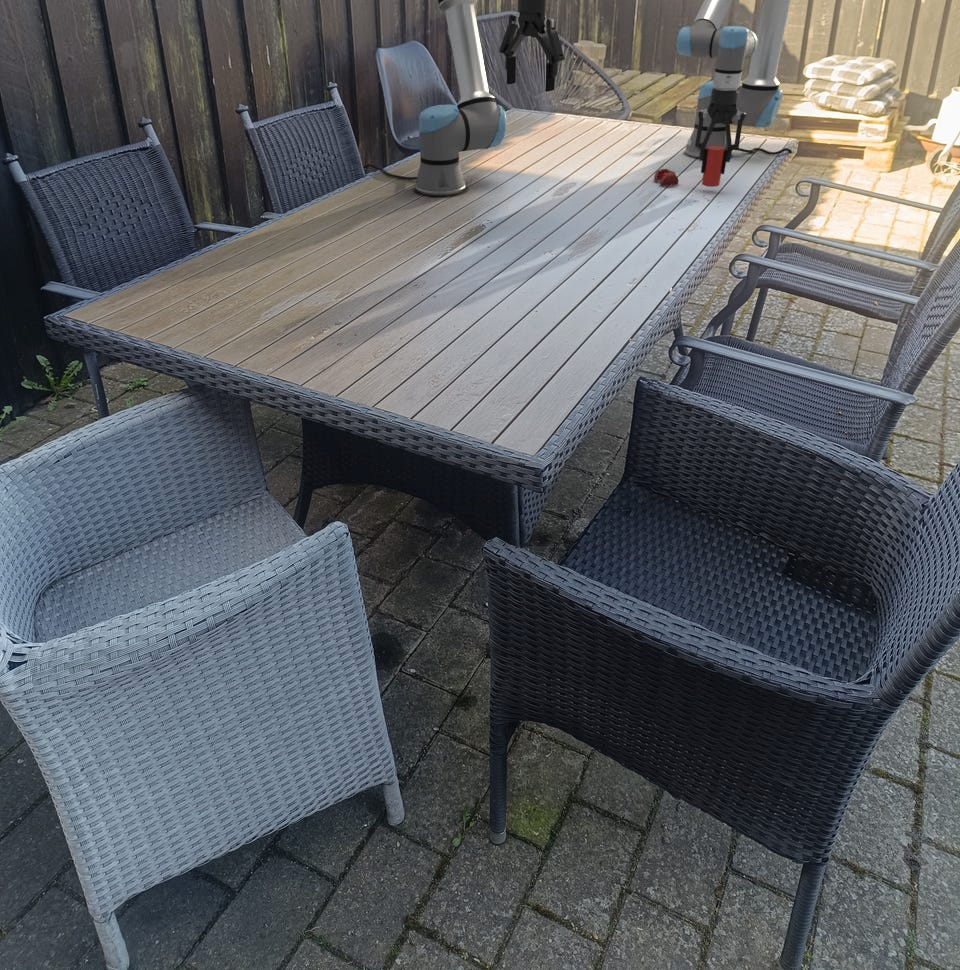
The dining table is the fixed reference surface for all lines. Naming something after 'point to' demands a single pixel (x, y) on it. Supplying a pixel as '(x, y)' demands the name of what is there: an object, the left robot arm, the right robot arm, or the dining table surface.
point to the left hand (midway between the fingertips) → (530, 87)
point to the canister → (713, 166)
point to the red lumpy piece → (666, 177)
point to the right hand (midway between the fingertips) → (712, 172)
